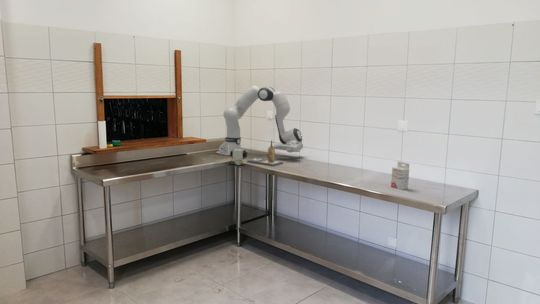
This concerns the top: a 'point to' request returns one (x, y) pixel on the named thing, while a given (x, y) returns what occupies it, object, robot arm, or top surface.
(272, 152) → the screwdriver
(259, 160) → the switch board
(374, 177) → the top surface
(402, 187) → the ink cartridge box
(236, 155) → the pneumatic valve
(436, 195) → the top surface
